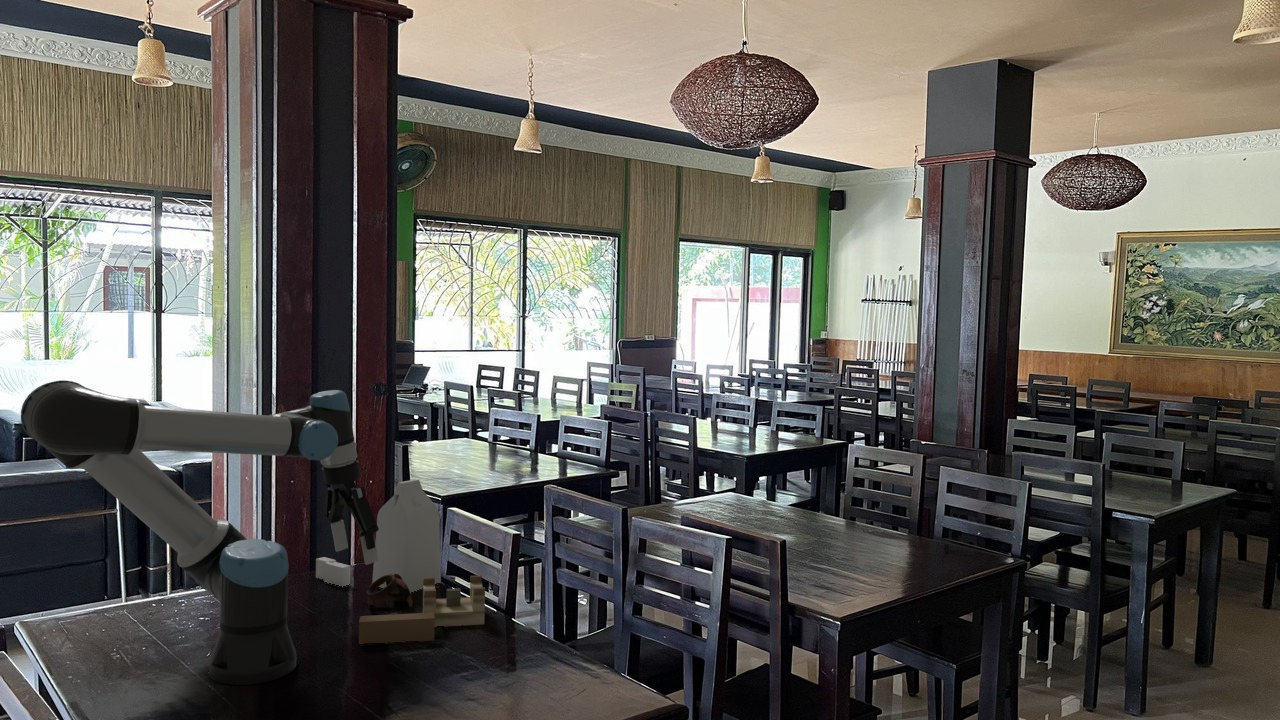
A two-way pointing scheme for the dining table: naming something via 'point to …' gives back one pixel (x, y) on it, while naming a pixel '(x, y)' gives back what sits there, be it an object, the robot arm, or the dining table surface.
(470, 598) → the display stand
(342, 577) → the napkin holder
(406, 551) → the milk
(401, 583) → the brown looped band sculpture
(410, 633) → the brown wooden block
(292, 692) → the dining table surface
